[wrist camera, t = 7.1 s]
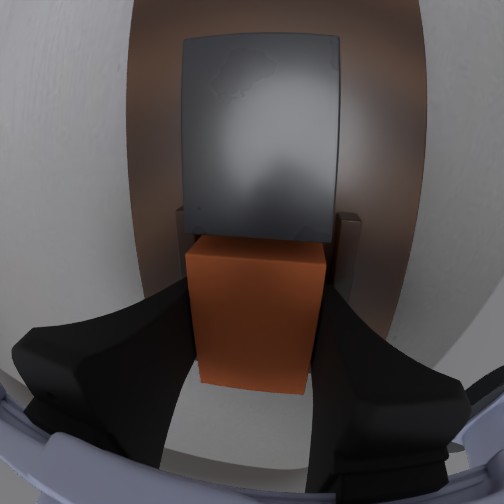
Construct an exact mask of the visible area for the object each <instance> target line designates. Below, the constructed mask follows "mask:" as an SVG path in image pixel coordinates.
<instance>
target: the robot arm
mask: <svg viewBox="0 0 504 504" xmlns="http://www.w3.org/2000/svg"><path fill="white" fill-rule="evenodd" d="M196 356H197V353H196V346H195V339H194V331H193V323H192V315H191V307H190V298H189V289H188V279H187V276H186V277H184V278H183V279H181V280H179V281H177V282H176V283H174V284H172V285H170V286H169V287H167V288H165V289H163V290H161V291H160V292H158V293H156V294H154V295H152V296H150V297H148V298H146V299H144V300H142V301H140V302H138V303H136V304H134V305H131V306H129V307H127V308H124V309H122V310H119V311H116V312H114V313H111V314H107V315H104V316H101V317H97V318H94V319H90V320H86V321H82V322H77V323H72V324H66V325H59V326H49V327H36V328H32V329H31V330H30V331H29V332H28V333H27V334H26V335H25V336H24V337H23V338H22V339H20V340H19V341H18V342H17V343H16V344H15V345H14V346H13V348H12V359H13V362H14V365H15V367H16V369H17V370H18V372H19V374H20V376H21V377H22V379H23V380H24V382H25V384H26V385H27V387H28V388H29V390H30V391H31V393H32V394H33V396H34V398H33V399H32V401H31V402H30V403H29V405H28V406H27V407H25V406H24V405H23V404H21V403H20V402H18V401H17V400H15V399H14V398H12V397H11V396H9V395H8V394H7V393H6V391H5V389H4V387H3V386H2V385H1V383H0V459H1V460H2V461H3V462H4V463H6V464H7V465H8V466H9V467H10V468H11V469H13V470H14V471H15V472H16V473H17V474H19V475H20V476H21V477H22V478H24V479H25V480H26V481H27V482H29V483H30V484H31V485H33V486H34V487H35V488H37V489H38V490H40V491H41V494H40V496H39V498H38V500H37V501H36V503H35V504H504V392H503V393H501V394H500V395H499V396H498V397H497V398H496V399H495V400H493V401H492V402H491V403H490V404H489V405H487V406H486V407H485V408H484V409H483V410H481V411H480V412H479V413H477V414H476V415H475V416H474V417H472V418H471V419H470V420H469V418H470V415H471V412H472V409H471V404H470V402H469V400H468V397H467V395H466V393H465V390H464V388H463V386H462V384H461V382H460V381H459V380H457V379H454V378H452V377H449V376H447V375H444V374H442V373H439V372H437V371H434V370H432V369H430V368H428V367H426V366H425V365H423V364H421V363H419V362H417V361H415V360H413V359H412V358H410V357H408V356H407V355H405V354H404V353H402V352H401V351H399V350H398V349H396V348H395V347H393V346H392V345H391V344H389V343H388V342H387V341H385V340H384V339H383V338H382V337H380V336H379V335H378V334H377V333H376V332H374V331H373V330H372V329H371V328H370V327H369V326H368V325H367V324H366V323H365V322H364V321H363V320H362V319H361V318H360V317H359V316H358V315H357V314H356V313H355V312H354V310H353V309H352V308H351V307H350V306H349V305H348V303H347V302H346V301H345V300H344V298H343V297H342V296H341V295H340V293H339V292H338V291H337V290H336V288H335V287H334V286H333V285H332V284H324V287H323V294H322V300H321V307H320V313H319V319H318V325H317V331H316V336H315V342H314V347H313V352H312V358H311V363H310V364H311V376H312V388H313V420H312V434H311V447H310V457H309V466H308V474H307V482H306V489H305V493H288V492H273V491H262V490H253V489H246V488H238V487H232V486H226V485H221V484H215V483H211V482H206V481H201V480H197V479H192V478H188V477H184V476H181V475H176V474H173V473H170V472H166V471H162V470H160V469H159V467H160V462H161V457H162V453H163V448H164V445H165V441H166V437H167V433H168V429H169V426H170V422H171V419H172V416H173V413H174V409H175V406H176V403H177V400H178V397H179V394H180V391H181V388H182V386H183V384H184V381H185V379H186V377H187V375H188V373H189V371H190V369H191V367H192V365H193V363H194V360H195V358H196ZM451 441H452V442H455V443H458V444H461V445H464V448H465V452H466V455H467V459H468V462H469V466H470V469H469V470H466V471H463V472H460V473H456V474H453V475H450V476H448V475H447V471H446V467H445V462H444V461H446V460H447V459H448V457H449V453H448V449H447V446H448V445H449V444H450V443H451Z"/></svg>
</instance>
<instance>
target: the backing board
mask: <svg viewBox="0 0 504 504" xmlns="http://www.w3.org/2000/svg"><path fill="white" fill-rule="evenodd" d="M426 129H427V74H426V57H425V45H424V35H423V27H422V20H421V13H420V7H419V1H418V0H134V4H133V11H132V19H131V28H130V38H129V50H128V65H127V89H126V135H127V160H128V176H129V189H130V200H131V210H132V219H133V228H134V236H135V243H136V250H137V257H138V263H139V269H140V275H141V281H142V287H143V292H144V297H145V299H146V298H148V297H150V296H152V295H154V294H156V293H158V292H160V291H161V290H163V289H165V288H167V287H169V286H170V285H172V284H174V283H176V282H177V281H179V280H181V279H183V278H184V277H186V276H187V269H186V258H185V254H186V253H187V252H188V251H189V249H190V248H191V247H192V246H193V245H194V244H195V243H196V242H197V241H198V239H199V238H200V237H201V236H202V235H214V236H231V237H247V238H262V239H277V240H291V241H305V242H319V243H322V245H323V250H324V255H325V260H326V273H325V280H324V284H332V285H333V286H334V287H335V288H336V290H337V291H338V292H339V293H340V295H341V296H342V297H343V298H344V300H345V301H346V302H347V303H348V305H349V306H350V307H351V308H352V309H353V310H354V312H355V313H356V314H357V315H358V316H359V317H360V318H361V319H362V320H363V321H364V322H365V323H366V324H367V325H368V326H369V327H370V328H371V329H372V330H373V331H374V332H376V333H377V334H378V335H379V336H380V337H382V338H383V339H384V340H386V337H387V334H388V331H389V328H390V325H391V322H392V319H393V316H394V313H395V309H396V306H397V303H398V299H399V296H400V292H401V288H402V285H403V281H404V277H405V273H406V269H407V264H408V260H409V256H410V251H411V247H412V242H413V237H414V231H415V226H416V220H417V215H418V208H419V202H420V195H421V187H422V179H423V170H424V159H425V147H426ZM195 360H196V361H198V360H197V356H196V358H195ZM309 373H311V364H310V368H309Z"/></svg>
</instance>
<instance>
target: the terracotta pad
mask: <svg viewBox="0 0 504 504" xmlns="http://www.w3.org/2000/svg"><path fill="white" fill-rule="evenodd" d="M185 258H186V269H187V279H188V289H189V298H190V307H191V315H192V323H193V331H194V339H195V346H196V353H197V360H198V366H199V373H200V379H201V382H202V383H207V384H212V385H219V386H225V387H232V388H239V389H247V390H255V391H264V392H274V393H285V394H300V395H303V394H304V391H305V387H306V382H307V377H308V373H309V368H310V363H311V358H312V352H313V347H314V342H315V336H316V331H317V325H318V319H319V313H320V307H321V300H322V294H323V287H324V280H325V273H326V260H325V255H324V250H323V245H322V243H319V242H305V241H291V240H277V239H262V238H247V237H231V236H214V235H202V236H201V237H200V238H199V239H198V241H197V242H196V243H195V244H194V245H193V246H192V247H191V248H190V249H189V251H188V252H187V253H186V254H185Z"/></svg>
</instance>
